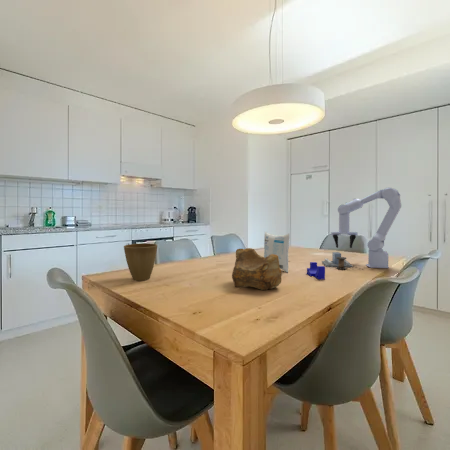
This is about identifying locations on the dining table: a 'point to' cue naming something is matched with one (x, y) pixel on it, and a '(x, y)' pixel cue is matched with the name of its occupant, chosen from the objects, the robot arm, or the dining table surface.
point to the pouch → (277, 248)
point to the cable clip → (316, 271)
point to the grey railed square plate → (331, 264)
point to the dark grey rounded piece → (341, 263)
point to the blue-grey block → (334, 255)
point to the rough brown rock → (256, 270)
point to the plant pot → (140, 260)
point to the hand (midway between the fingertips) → (343, 247)
